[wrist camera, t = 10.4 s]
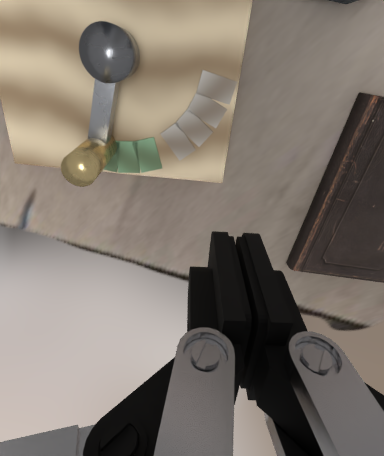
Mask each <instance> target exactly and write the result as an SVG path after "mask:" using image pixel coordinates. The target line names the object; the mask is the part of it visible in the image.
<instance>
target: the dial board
mask: <svg viewBox="0 0 384 456" xmlns="http://www.w3.org/2000/svg"><path fill="white" fill-rule="evenodd" d="M252 1H253V0H0V98H1V103H2V107H3V112H4V116H5V121H6V125H7V130H8V134H9V138H10V143H11V147H12V152H13V156H14V161H15V163H16V164H26V165H37V166H47V167H58V168H61V163H62V160H63V159H64V157H65V156H67V155H68V154H69V153H70V152H72V151H73V150H74V149H75V148H77V147H78V146H79V145H80V144H81V143H83V142H84V141H85V140H86V139H88V132H89V124H90V116H91V107H92V99H93V91H94V82H95V78H93V77H92V76H91V75H90V74H89V73H88V72H87V70H86V69H85V67H84V66H83V64H82V61H81V58H80V54H79V41H80V37H81V35H82V33H83V31H84V30H85V28H86V27H87V26H89V25H90V24H92V23H94V22H98V21H106V22H110V23H112V24H115V25H117V26H120V27H122V28H124V29H126V30H127V31H128V32H130V33H131V34H132V36H133V37H134V38H135V40H136V42H137V44H138V47H139V51H140V62H139V66H138V68H137V70H136V72H135V73H134V74H133V75H132V76H131V77H129V78H127V79H125V80H122V81H120V85H119V92H118V98H117V104H116V110H115V117H114V123H113V129H112V135H111V136H112V137H113V138H114V139H115V141H116V144H117V150H116V153H115V154H114V156H113V157H112V158H111V160H110V161H109V162H108V164H107V165H106V166H105V167H104V169H103V170H102V171H101V172H111V173H121V174H132V175H143V176H153V177H164V178H174V179H185V180H195V181H206V182H217V183H222V181H223V175H224V169H225V163H226V157H227V151H228V145H229V139H230V133H231V127H232V121H233V115H234V109H235V103H236V97H237V91H238V85H239V79H240V73H241V67H242V61H243V55H244V49H245V43H246V37H247V31H248V25H249V19H250V13H251V7H252Z"/></svg>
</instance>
